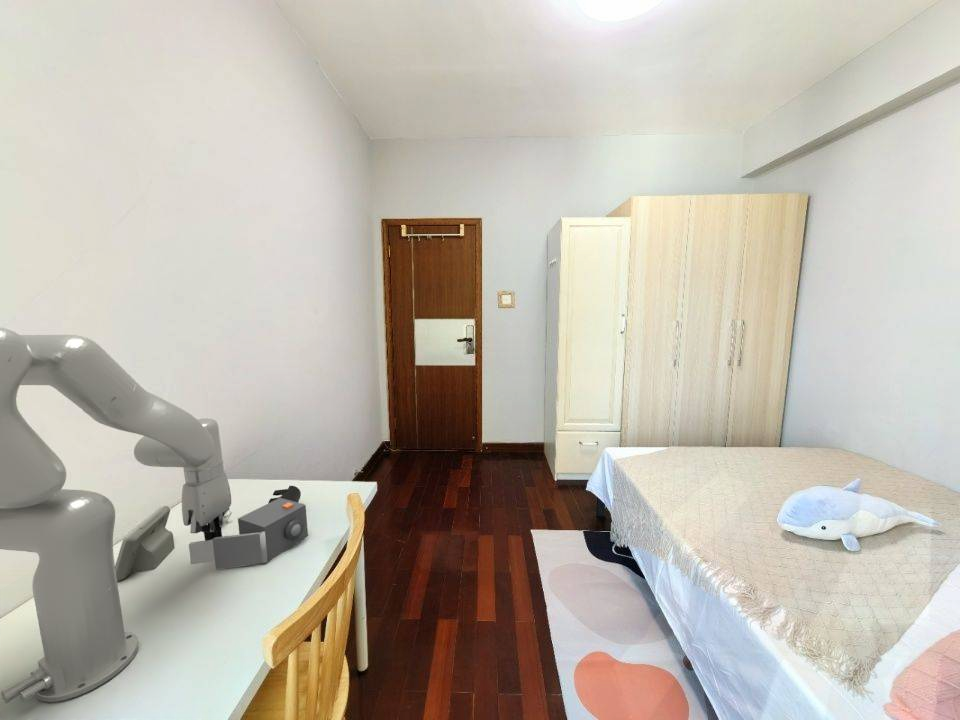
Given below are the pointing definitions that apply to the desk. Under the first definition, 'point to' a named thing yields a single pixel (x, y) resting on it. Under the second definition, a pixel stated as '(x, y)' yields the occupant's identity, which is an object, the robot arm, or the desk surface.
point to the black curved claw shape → (288, 494)
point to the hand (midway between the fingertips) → (214, 543)
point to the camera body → (277, 525)
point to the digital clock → (145, 545)
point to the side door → (230, 550)
